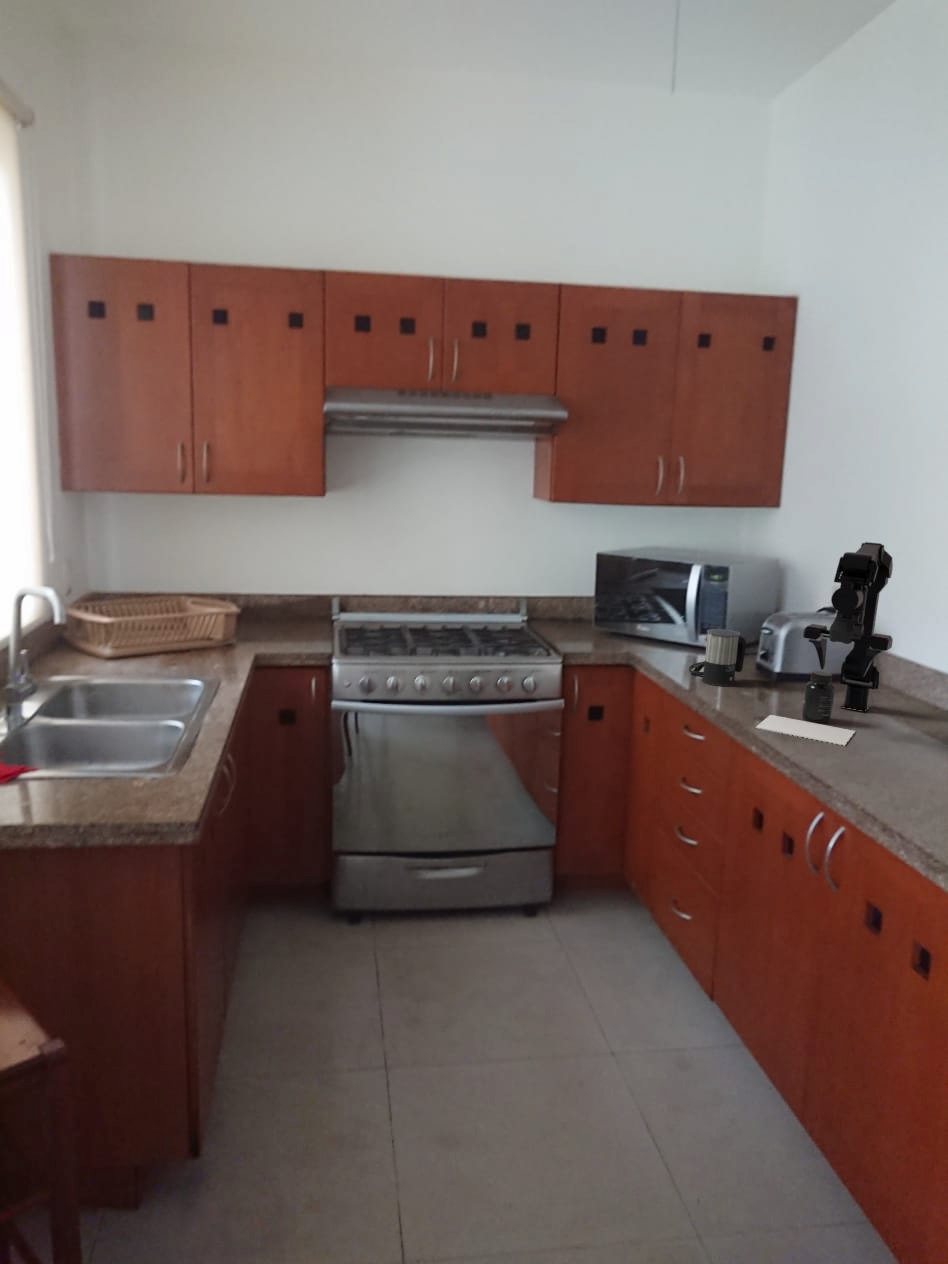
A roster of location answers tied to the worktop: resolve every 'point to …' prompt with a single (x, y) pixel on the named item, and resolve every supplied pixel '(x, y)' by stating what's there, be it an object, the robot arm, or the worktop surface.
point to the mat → (806, 730)
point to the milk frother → (721, 657)
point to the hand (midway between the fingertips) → (842, 672)
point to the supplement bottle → (818, 698)
